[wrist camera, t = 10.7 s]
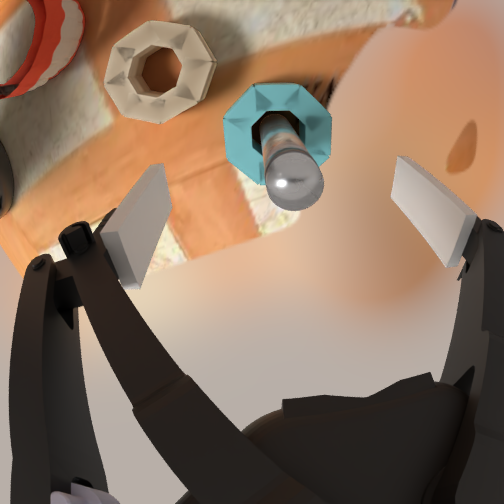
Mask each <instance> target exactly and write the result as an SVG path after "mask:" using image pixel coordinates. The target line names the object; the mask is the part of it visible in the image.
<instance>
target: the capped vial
mask: <svg viewBox="0 0 504 504" xmlns="http://www.w3.org/2000/svg"><path fill="white" fill-rule="evenodd" d="M259 129H260V137H261V145H262V153H263V161H264V169H265V170H264V176H265V184H266V187H267V192H268V195H269V197H270V199H271V200H272V201H273V202H274V203H275V204H276V205H277V206H279V207H280V208H283V209H285V210H290V211H299V210H303V209H306V208H308V207H310V206H312V205H313V204H314V203H315V202H316V201H317V200H318V199H319V198H320V196H321V194H322V192H323V188H324V179H323V175H322V173H321V171H320V169H319V166H318V165H317V163H316V161H315V160H314V158H313V157H312V156H311V155H310V153H309V152H308V150H307V149H306V147H305V146H304V144H303V142H302V141H301V139H300V138H299V136H298V135H297V133H296V132H295V130H294V129H293V127H292V126H291V124H290V123H289V122H288V120H287V119H286V118H285V117H283V116H282V115H279V114H271V115H268V116H266V117H265V118H264V119H263V120H262V121H261V123H260V128H259Z"/></svg>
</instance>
